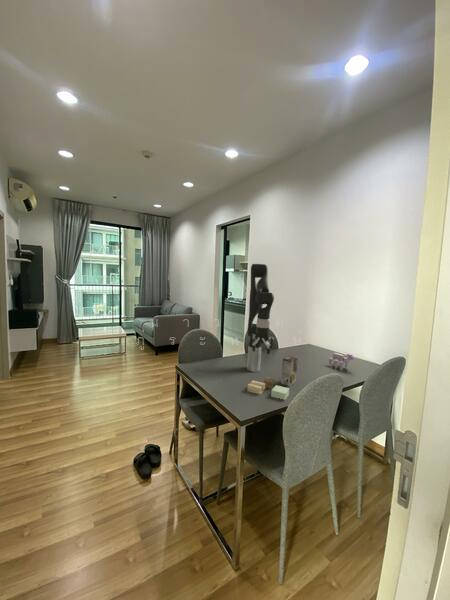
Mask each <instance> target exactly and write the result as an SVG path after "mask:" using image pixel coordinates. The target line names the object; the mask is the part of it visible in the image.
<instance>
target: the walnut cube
mask: <svg viewBox="0 0 450 600" xmlns="http://www.w3.org/2000/svg"><path fill="white" fill-rule="evenodd" d="M263 383H265V389H270V390H272V389H273V388H274V387H275V378H273V377H269V376H266V377H265V378H264V379H263Z"/></svg>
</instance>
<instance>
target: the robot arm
mask: <svg viewBox="0 0 450 600" xmlns="http://www.w3.org/2000/svg"><path fill="white" fill-rule="evenodd" d="M268 273H269V271H268V266H267V264H263V263H252V264H251V267H250V292H249V293H250V294H249V303H248V304H249V305H248V306H249V309H248V311H249V312H248V323H247V330H246V331H247V336H248V337H250V338H249V342H248V347H247V349H248V350H247V362H246V363H247V365H246V369H247V371H248V372H252V373H257V372H259V371H261V359H262V345H263V344H265V346H266V347H267V348H266V355H269V354H270V353H271V349H272V348H274V347H275V338H274V337H273V336H272V337H271V336H269V334H270V323H271V321H270V316H271V315H270V314H271V310H272V306H273V303H274V300H275V295H274V294H273V293H272V292H270V288H269V286H270V285H269V274H268ZM256 278H258V279H259V278H260V279H259V280H258V282H257V281H256ZM264 305H266V306H265V307H263V306H264ZM256 317H257V319H256V323H254V320H255V318H256ZM269 341H270V342H269Z"/></svg>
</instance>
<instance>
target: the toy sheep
mask: <svg viewBox="0 0 450 600" xmlns="http://www.w3.org/2000/svg"><path fill="white" fill-rule="evenodd" d="M353 360H357V358H356V357H355V356H354V355H353V353H350V352H348V353H344V354H341V353H338V352H333V354H332V357H328V361H329V362H328V363H329V364H328V365H329V367H330V368H331V367H332V365H333V366H334V369H336V370H338V367H339V368H340V372H342V371H343V368H344V369H345V370H347V368H348V364H349V363H350V361H353ZM332 362H333V364H332ZM344 363H345V365H344ZM343 365H344V367H343Z"/></svg>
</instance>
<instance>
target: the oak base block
mask: <svg viewBox="0 0 450 600" xmlns="http://www.w3.org/2000/svg"><path fill="white" fill-rule="evenodd" d="M265 390H266V388H265V383H264V382H260V381H257V380H251V382H249V383H248V384H247V390H246V391H247V392H250V393H253V394H257V395H258V396H259V395H261V394H262V393H264V392H265Z"/></svg>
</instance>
